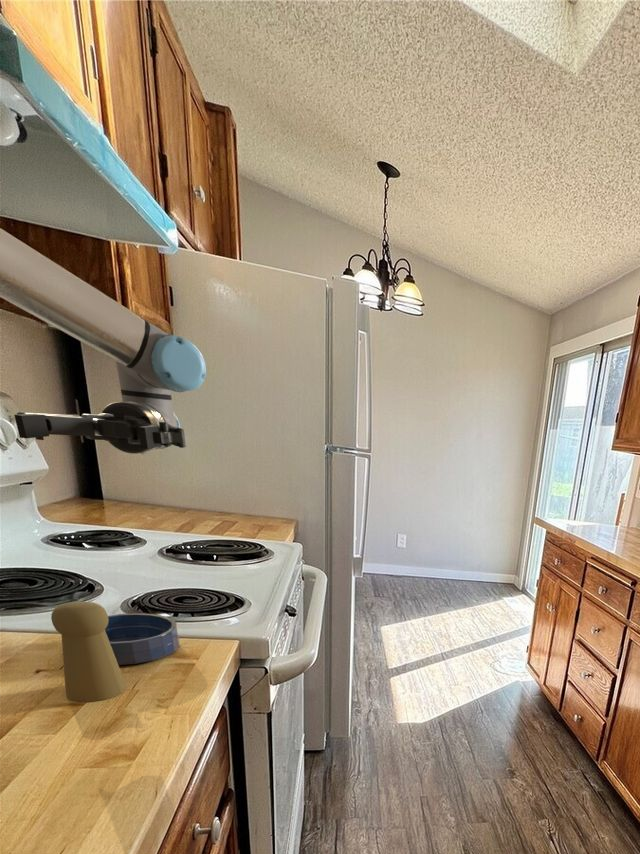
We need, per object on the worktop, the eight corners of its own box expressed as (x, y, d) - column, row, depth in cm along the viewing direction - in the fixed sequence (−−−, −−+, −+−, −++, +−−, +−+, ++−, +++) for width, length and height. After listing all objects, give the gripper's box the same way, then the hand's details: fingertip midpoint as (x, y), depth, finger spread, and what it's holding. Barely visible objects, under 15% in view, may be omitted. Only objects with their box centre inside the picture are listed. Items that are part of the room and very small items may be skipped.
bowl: (57, 666, 72) (51, 641, 71) (102, 633, 83) (98, 611, 82) (161, 668, 75) (156, 644, 73) (191, 637, 86) (188, 615, 84)
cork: (53, 693, 66) (29, 605, 61) (103, 676, 71) (85, 593, 67) (89, 706, 64) (68, 616, 60) (138, 687, 69) (122, 603, 65)
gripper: (221, 459, 96) (194, 471, 78) (48, 444, 89) (-26, 453, 70) (216, 411, 93) (186, 412, 75) (36, 391, 86) (-45, 387, 67)
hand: (83, 432), depth 72 cm, fingers open, 13 cm apart
